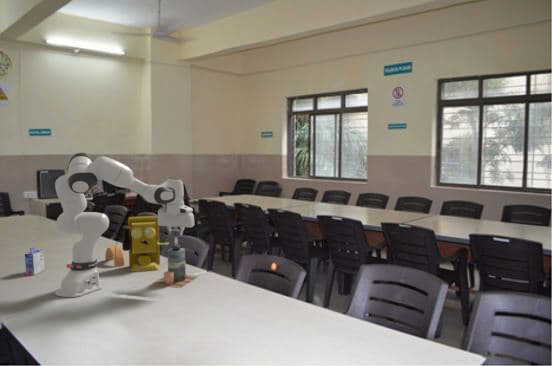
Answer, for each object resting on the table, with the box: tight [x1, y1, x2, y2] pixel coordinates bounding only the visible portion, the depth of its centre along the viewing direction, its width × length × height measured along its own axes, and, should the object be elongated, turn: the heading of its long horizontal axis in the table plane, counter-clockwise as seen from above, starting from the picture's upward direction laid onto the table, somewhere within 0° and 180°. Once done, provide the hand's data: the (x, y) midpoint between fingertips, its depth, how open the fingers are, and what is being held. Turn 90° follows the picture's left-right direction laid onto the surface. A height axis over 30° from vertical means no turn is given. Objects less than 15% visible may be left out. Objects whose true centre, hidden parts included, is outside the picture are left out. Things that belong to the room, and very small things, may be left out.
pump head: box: [166, 228, 182, 246], centre depth 237 cm, size 10×4×8 cm, turn 164°
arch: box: [104, 245, 125, 268], centre depth 281 cm, size 6×20×10 cm, turn 36°
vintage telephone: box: [115, 215, 170, 273], centre depth 268 cm, size 31×14×30 cm, turn 105°
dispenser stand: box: [149, 244, 200, 289], centre depth 239 cm, size 22×18×20 cm
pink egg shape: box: [163, 270, 174, 285], centre depth 233 cm, size 5×5×6 cm
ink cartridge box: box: [24, 246, 45, 276], centre depth 259 cm, size 10×6×14 cm, turn 174°
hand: (176, 234), depth 240 cm, fingers closed on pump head, 4 cm apart
